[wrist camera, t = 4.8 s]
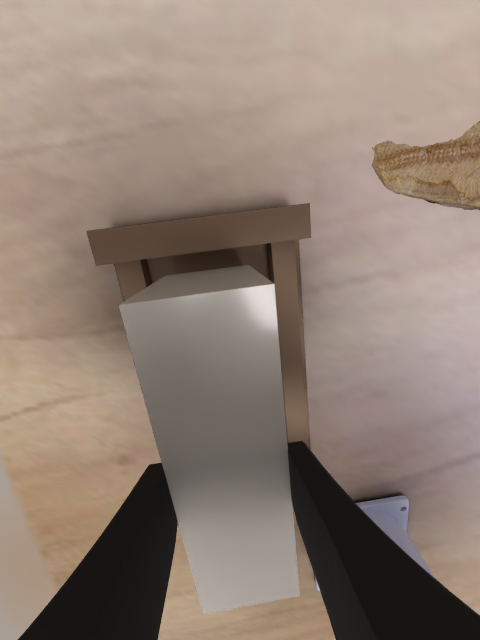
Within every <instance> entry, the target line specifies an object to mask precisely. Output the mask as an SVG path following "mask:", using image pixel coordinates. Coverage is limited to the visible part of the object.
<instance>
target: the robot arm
mask: <svg viewBox="0 0 480 640" xmlns="http://www.w3.org/2000/svg"><path fill="white" fill-rule="evenodd" d="M287 444H288V449H287V450H288V462H289V474H290V486H291V498H292V504H293V508H294V512H295V516H296V520H297V523H298V526H299V529H300V532H301V535H302V538H303V541H304V544H305V547H306V550H307V553H308V556H309V559H310V562H311V565H312V568H313V571H314V574H315V585H316V588H317V590H318V591H320V592H321V594H322V597H323V600H324V603H325V606H326V609H327V612H328V615H329V618H330V622H331V625H332V628H333V631H334V635H335V638H336V640H480V615H478V614H477V613H476V612H475V611H474V610H472V609H471V608H470V607H469V606H467V605H466V604H465V603H464V602H462V601H461V600H460V599H459V598H458V597H456V596H455V595H454V594H453V593H451V592H450V591H449V590H448V589H447V588H445V587H444V586H443V585H442V584H441V583H440V582H438V581H437V580H436V578H435V577H434V575H433V574H432V572H431V571H430V569H429V568H428V566H427V564H426V563H425V561H424V560H423V558H422V557H421V555H420V554H419V552H418V551H417V549H416V547H415V546H414V544H413V543H412V541H411V540H410V538H409V537H408V535H407V523H408V511H409V501H408V499H407V498H406V497H405V496H395V497H389V498H383V499H377V500H371V501H365V502H359V503H355V502H354V501H353V500H352V499H351V498H350V496H349V495H348V494H347V493H346V492H345V491H344V490H343V489H342V488H341V486H340V485H339V484H338V483H337V482H336V481H335V480H334V479H333V477H332V476H331V475H330V474H329V473H328V472H327V470H326V469H325V468H324V467H323V465H322V464H321V463H320V462H319V461H318V459H317V458H316V457H315V455H314V454H313V453H312V452H311V450H310V449H309V448H308V446H307V445H306V443H305V442H303V441H297V442H290V443H287ZM177 522H178V520H177V516H176V512H175V509H174V505H173V501H172V498H171V494H170V491H169V487H168V483H167V480H166V476H165V472H164V469H163V466H162V463H157V464H151V465H149V466H148V467H147V469H146V470H145V472H144V473H143V475H142V476H141V478H140V479H139V481H138V482H137V484H136V485H135V487H134V488H133V490H132V491H131V493H130V494H129V496H128V497H127V499H126V500H125V502H124V503H123V504H122V506H121V507H120V509H119V510H118V512H117V513H116V515H115V516H114V517H113V519H112V520H111V522H110V523H109V525H108V526H107V527H106V529H105V530H104V532H103V533H102V534H101V536H100V537H99V539H98V540H97V541H96V543H95V544H94V545H93V547H92V548H91V549H90V551H89V552H88V553H87V555H86V556H85V557H84V559H83V560H82V561H81V563H80V564H79V565H78V567H77V568H76V569H75V571H74V572H73V573H72V575H71V576H70V577H69V578H68V580H67V581H66V582H65V583H64V585H63V586H62V587H61V589H60V590H59V591H58V592H57V594H56V595H55V596H54V597H53V599H52V600H51V601H50V602H49V603H48V605H47V606H46V607H45V608H44V610H43V611H42V612H41V613H40V614H39V616H38V617H37V618H36V619H35V620H34V622H33V623H32V624H31V625H30V626H29V628H28V629H27V630H26V631H25V632H24V634H23V635H22V636H21V637H20V638H19V639H18V640H158V634H159V629H160V624H161V618H162V613H163V608H164V602H165V597H166V592H167V587H168V581H169V576H170V570H171V565H172V560H173V554H174V548H175V542H176V532H177Z"/></svg>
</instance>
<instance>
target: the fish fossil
mask: <svg viewBox="0 0 480 640" xmlns="http://www.w3.org/2000/svg"><path fill="white" fill-rule="evenodd" d="M372 149H373V151H374V150H375V153H374V160H373V163H372V167H373V169H374V170H375V172H376V174H377V175H378V177H379V179H380V180H381V181H382V183H383V184H384V186H385V187H387V188H388V189H389V190H391V191H393V192H394V193H397V194H403V195H406V196H410V197H414V198H419V199H424V200H426V201H428V202H430V203H437V204H440V205H443V206H446V207H457V208H462V209H464V210H473V209H478V210H480V121H479V122H478V123H476V124H475V125H473V126H472V127H471V128H470V129H469V130H468V131H467V132H466V133H464V134H463V135H462V136H461V137H459V138H457V139H456V140H450V141H447V142H443V143H436V144H434V145H428V146H425V147H418V146H412V147H410V146H409V145H407V144H399V145H396V144H395V143H394V142H392V141H386V142H383V143H380V144H377V145H376V146H375V147H373V148H372Z"/></svg>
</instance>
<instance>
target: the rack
mask: <svg viewBox="0 0 480 640" xmlns="http://www.w3.org/2000/svg"><path fill="white" fill-rule="evenodd" d="M87 235H88V239H89V242H90V246H91V249H92V253H93V256H94V260H95V264H96V266H97V265H104V264H112V263H114V266H115V269H116V273H117V277H118V281H119V285H120V289H121V293H122V297H123V300H124V301H126V300H127V299H129V298H131V297H132V296H134V295H135V294H137V293H139V292H140V291H142V290H143V289H145V288H147V287H148V286H150V285H151V284H153V283H155V282H156V281H158V280H159V279H161V278H163V277H164V276H167V275H175V274H182V273H190V272H197V271H205V270H212V269H220V268H227V267H235V266H243V265H249V266H251V267H252V268H253V269H255V270H256V271H257V272H259V273H260V274H262V275H263V276H264V277H266V278H267V279H268V280H270V281H271V282H273V283H274V286H275V298H276V310H277V322H278V335H279V347H280V359H281V371H282V383H283V395H284V408H285V420H286V432H287V443H290V442H297V441H303V442H305V443H306V445H307V446H308V448H309V449H310V435H309V417H308V399H307V381H306V363H305V346H304V328H303V310H302V292H301V274H300V256H299V239H305V238H311V225H310V203H307V204H299V205H291V206H283V207H275V208H267V209H259V210H251V211H243V212H235V213H227V214H219V215H211V216H203V217H195V218H187V219H179V220H171V221H163V222H155V223H147V224H139V225H131V226H123V227H115V228H107V229H99V230H90V231H87ZM292 505H293V504H292ZM178 525H179V524H178V522H177V526H178Z"/></svg>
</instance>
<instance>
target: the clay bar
mask: <svg viewBox="0 0 480 640" xmlns="http://www.w3.org/2000/svg"><path fill="white" fill-rule="evenodd" d="M119 309H120V313H121V316H122V320H123V323H124V327H125V331H126V334H127V338H128V342H129V345H130V349H131V353H132V356H133V360H134V364H135V367H136V371H137V375H138V378H139V382H140V385H141V389H142V393H143V396H144V400H145V404H146V407H147V411H148V415H149V418H150V422H151V426H152V429H153V433H154V437H155V440H156V444H157V447H158V451H159V455H160V458H161V462H162V466H163V469H164V472H165V476H166V480H167V483H168V487H169V491H170V494H171V498H172V501H173V505H174V509H175V512H176V516H177V520H178V524H179V528H180V531H181V535H182V539H183V542H184V546H185V550H186V553H187V557H188V561H189V564H190V568H191V572H192V575H193V579H194V582H195V586H196V590H197V593H198V597H199V601H200V604H201V608H202V612H203V614H208V613H214V612H219V611H224V610H229V609H235V608H240V607H245V606H250V605H256V604H261V603H266V602H271V601H277V600H282V599H287V598H293V597H298V596H300V591H299V578H298V566H297V554H296V542H295V530H294V517H293V505H292V498H291V486H290V474H289V462H288V450H287V449H288V444H287V432H286V420H285V408H284V395H283V383H282V371H281V359H280V347H279V335H278V322H277V310H276V298H275V286H274V283H273V282H271V281H270V280H268V279H267V278H266V277H264V276H263V275H262V274H260V273H259V272H257V271H256V270H255V269H253V268H252V267H251V266H249V265H243V266H235V267H227V268H220V269H212V270H205V271H197V272H190V273H182V274H175V275H167V276H164V277H163V278H161V279H159V280H158V281H156V282H155V283H153V284H151V285H150V286H148V287H147V288H145V289H143V290H142V291H140V292H139V293H137V294H135V295H134V296H132V297H131V298H129V299H127V300H126V301H124V302H123V303H121V304H119Z"/></svg>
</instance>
